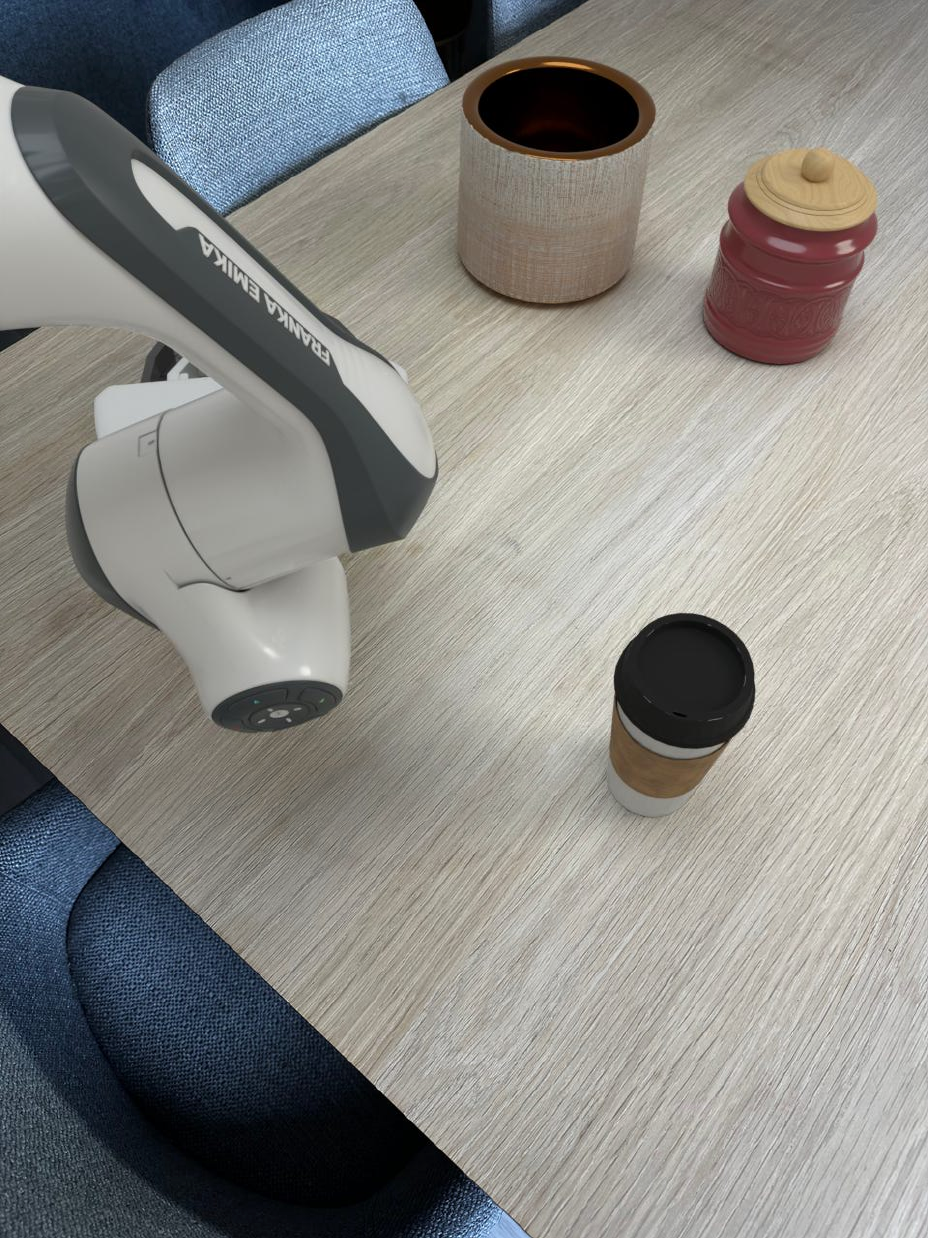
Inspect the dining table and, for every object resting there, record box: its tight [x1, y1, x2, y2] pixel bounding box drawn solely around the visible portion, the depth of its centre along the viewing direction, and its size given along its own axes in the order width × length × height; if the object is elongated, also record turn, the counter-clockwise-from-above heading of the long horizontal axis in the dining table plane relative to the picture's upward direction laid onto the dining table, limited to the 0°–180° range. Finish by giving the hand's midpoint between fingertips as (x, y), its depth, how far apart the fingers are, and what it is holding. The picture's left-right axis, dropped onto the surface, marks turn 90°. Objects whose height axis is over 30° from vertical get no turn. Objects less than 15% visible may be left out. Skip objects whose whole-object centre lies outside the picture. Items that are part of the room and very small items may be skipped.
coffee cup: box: [606, 612, 757, 818], centre depth 66 cm, size 8×8×15 cm
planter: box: [456, 55, 657, 305], centre depth 99 cm, size 18×18×16 cm
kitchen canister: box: [702, 146, 879, 365], centre depth 93 cm, size 13×13×18 cm
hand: (252, 344), depth 72 cm, fingers closed on beverage can, 6 cm apart
